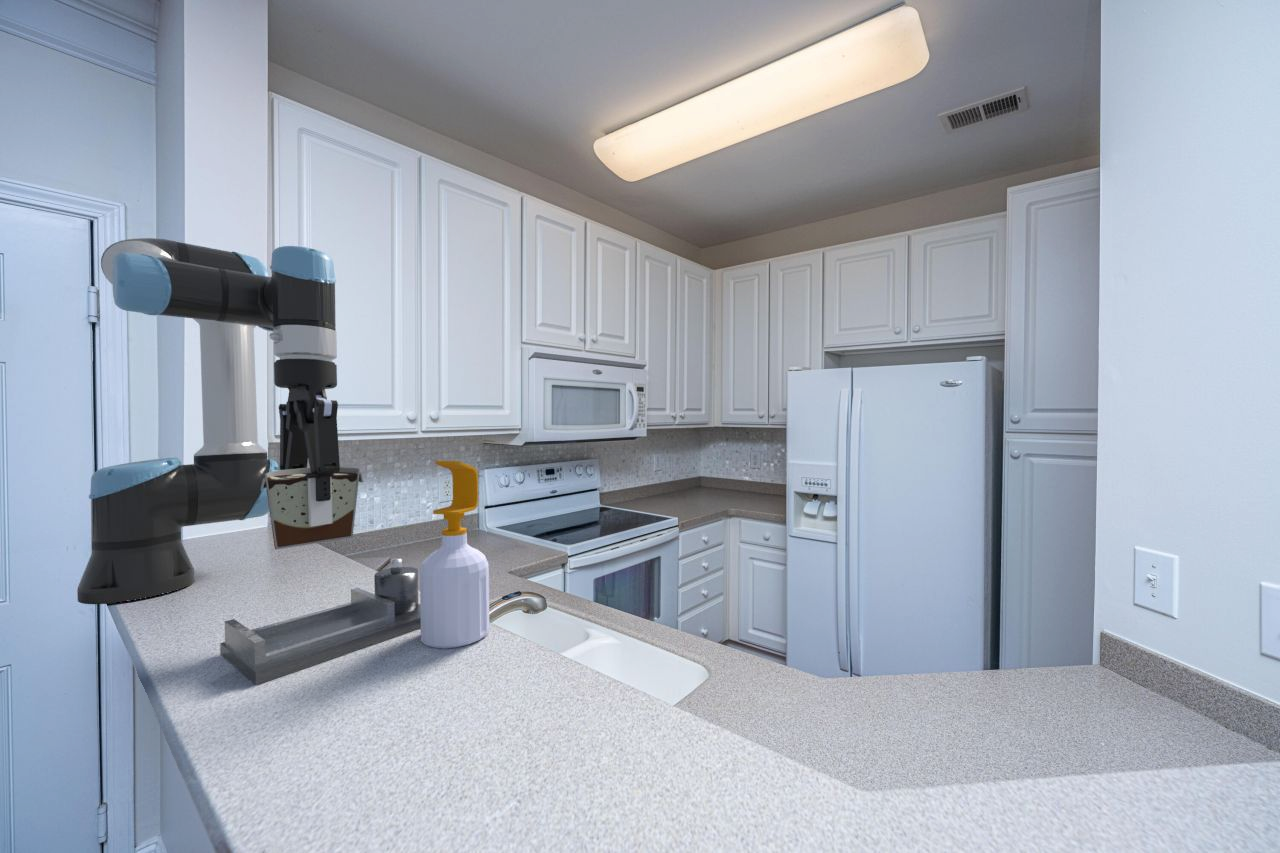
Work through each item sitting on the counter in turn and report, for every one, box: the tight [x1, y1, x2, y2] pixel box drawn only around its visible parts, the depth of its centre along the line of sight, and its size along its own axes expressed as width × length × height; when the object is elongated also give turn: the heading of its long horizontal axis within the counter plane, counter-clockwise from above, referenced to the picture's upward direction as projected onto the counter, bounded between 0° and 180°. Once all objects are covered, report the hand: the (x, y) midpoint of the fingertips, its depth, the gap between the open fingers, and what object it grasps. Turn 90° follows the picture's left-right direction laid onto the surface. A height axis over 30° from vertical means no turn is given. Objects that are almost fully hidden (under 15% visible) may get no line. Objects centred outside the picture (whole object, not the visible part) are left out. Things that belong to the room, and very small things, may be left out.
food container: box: [261, 466, 364, 550], centre depth 74 cm, size 12×6×10 cm, turn 136°
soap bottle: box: [419, 460, 491, 649], centre depth 72 cm, size 9×9×25 cm
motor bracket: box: [219, 557, 421, 686], centre depth 72 cm, size 13×23×9 cm, turn 143°
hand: (309, 522), depth 74 cm, fingers closed on food container, 6 cm apart
